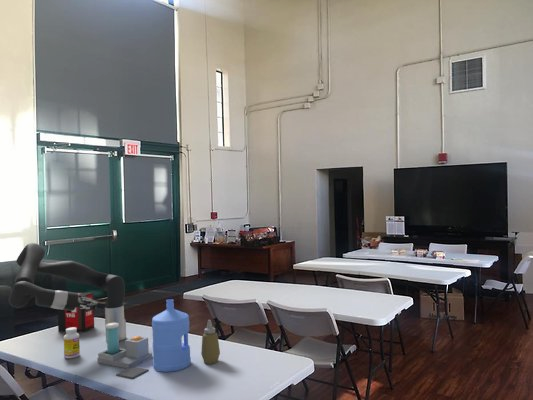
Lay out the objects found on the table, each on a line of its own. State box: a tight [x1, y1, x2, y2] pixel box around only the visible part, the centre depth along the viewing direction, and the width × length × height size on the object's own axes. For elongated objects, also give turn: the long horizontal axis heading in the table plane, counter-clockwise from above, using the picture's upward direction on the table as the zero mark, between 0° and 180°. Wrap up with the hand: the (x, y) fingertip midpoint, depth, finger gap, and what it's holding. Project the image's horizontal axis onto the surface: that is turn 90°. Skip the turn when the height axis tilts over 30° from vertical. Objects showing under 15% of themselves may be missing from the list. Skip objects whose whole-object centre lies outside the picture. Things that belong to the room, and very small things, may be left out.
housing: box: [96, 336, 153, 369], centre depth 194 cm, size 14×19×9 cm
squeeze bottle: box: [200, 319, 221, 365], centre depth 188 cm, size 8×8×18 cm
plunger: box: [132, 335, 142, 341], centre depth 195 cm, size 4×4×5 cm
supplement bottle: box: [63, 327, 81, 359], centre depth 202 cm, size 7×7×13 cm
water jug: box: [151, 298, 192, 373], centre depth 185 cm, size 16×16×28 cm
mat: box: [115, 366, 149, 380], centre depth 179 cm, size 9×9×1 cm
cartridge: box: [105, 323, 120, 355], centre depth 194 cm, size 5×5×14 cm
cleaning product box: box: [57, 292, 95, 333], centre depth 246 cm, size 16×9×20 cm, turn 81°
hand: (104, 306), depth 191 cm, fingers closed
